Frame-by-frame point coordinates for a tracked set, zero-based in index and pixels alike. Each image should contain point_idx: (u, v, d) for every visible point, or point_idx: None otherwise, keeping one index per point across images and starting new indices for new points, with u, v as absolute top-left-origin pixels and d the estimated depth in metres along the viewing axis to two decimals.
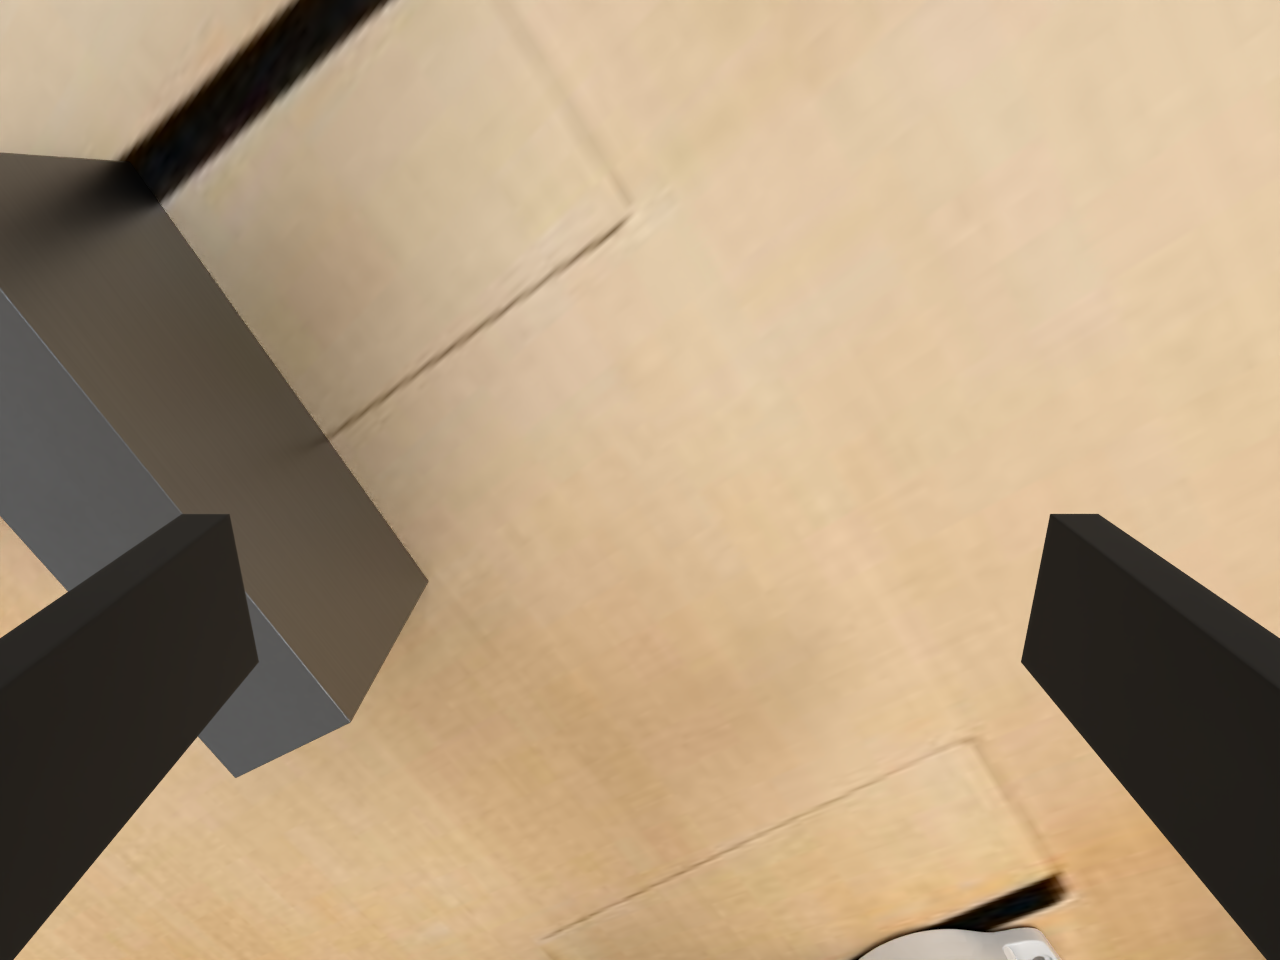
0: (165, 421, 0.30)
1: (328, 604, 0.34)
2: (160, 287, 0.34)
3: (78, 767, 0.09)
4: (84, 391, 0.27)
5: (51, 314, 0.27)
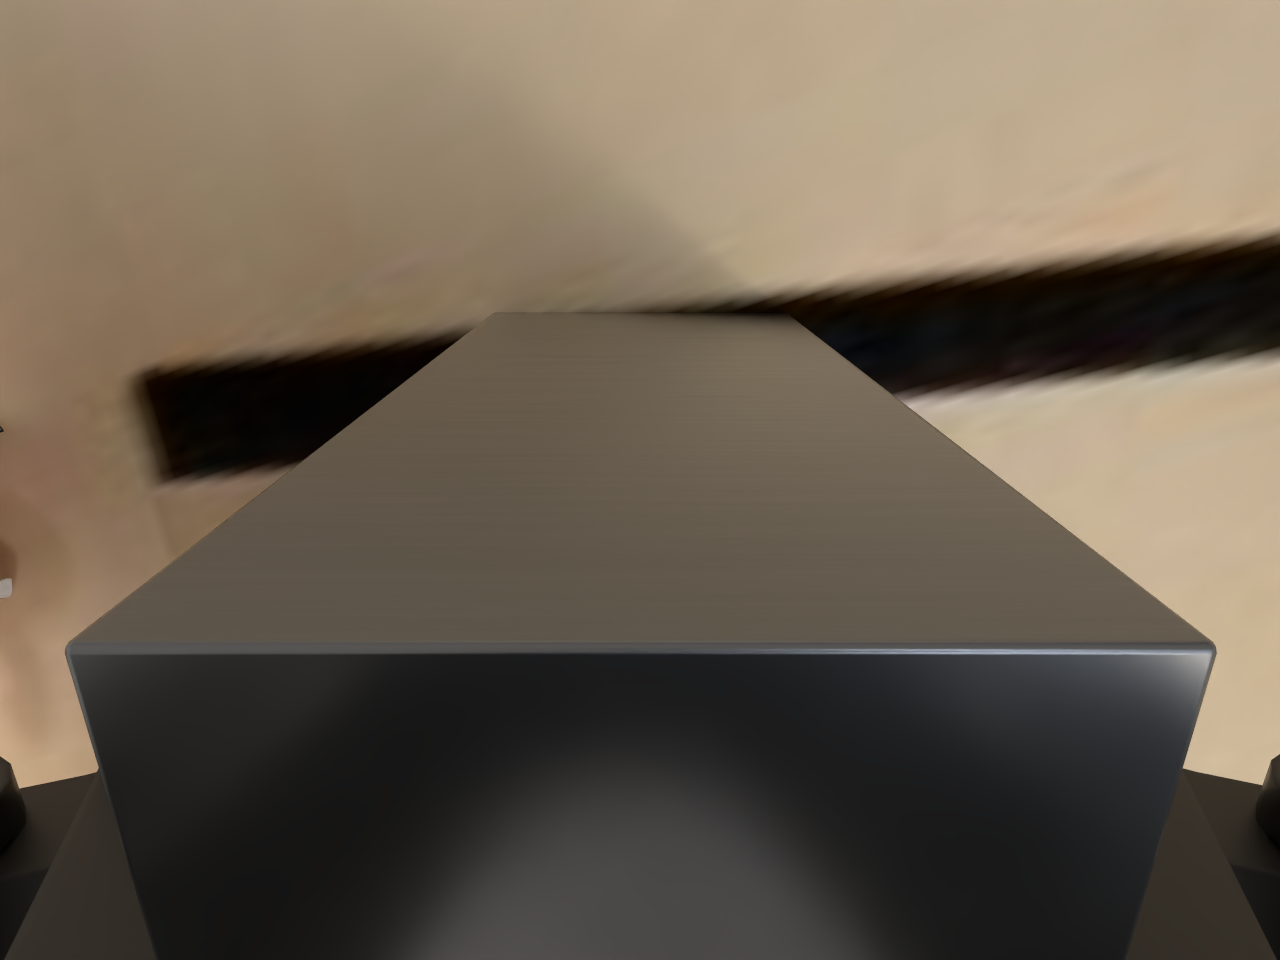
0: None
1: None
2: None
3: None
4: None
5: None
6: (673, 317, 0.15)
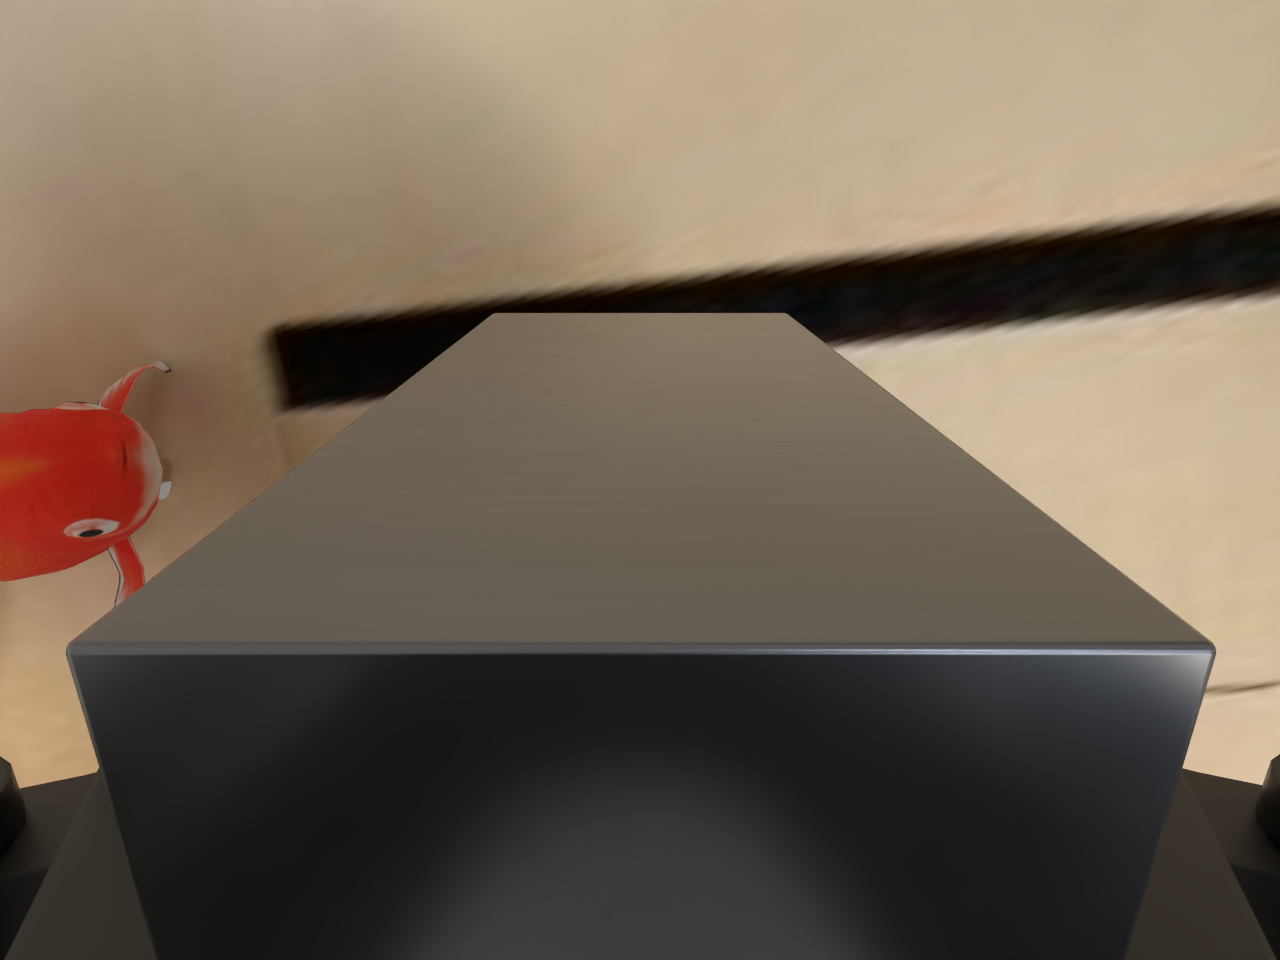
0: None
1: None
2: None
3: None
4: None
5: None
6: (673, 317, 0.15)
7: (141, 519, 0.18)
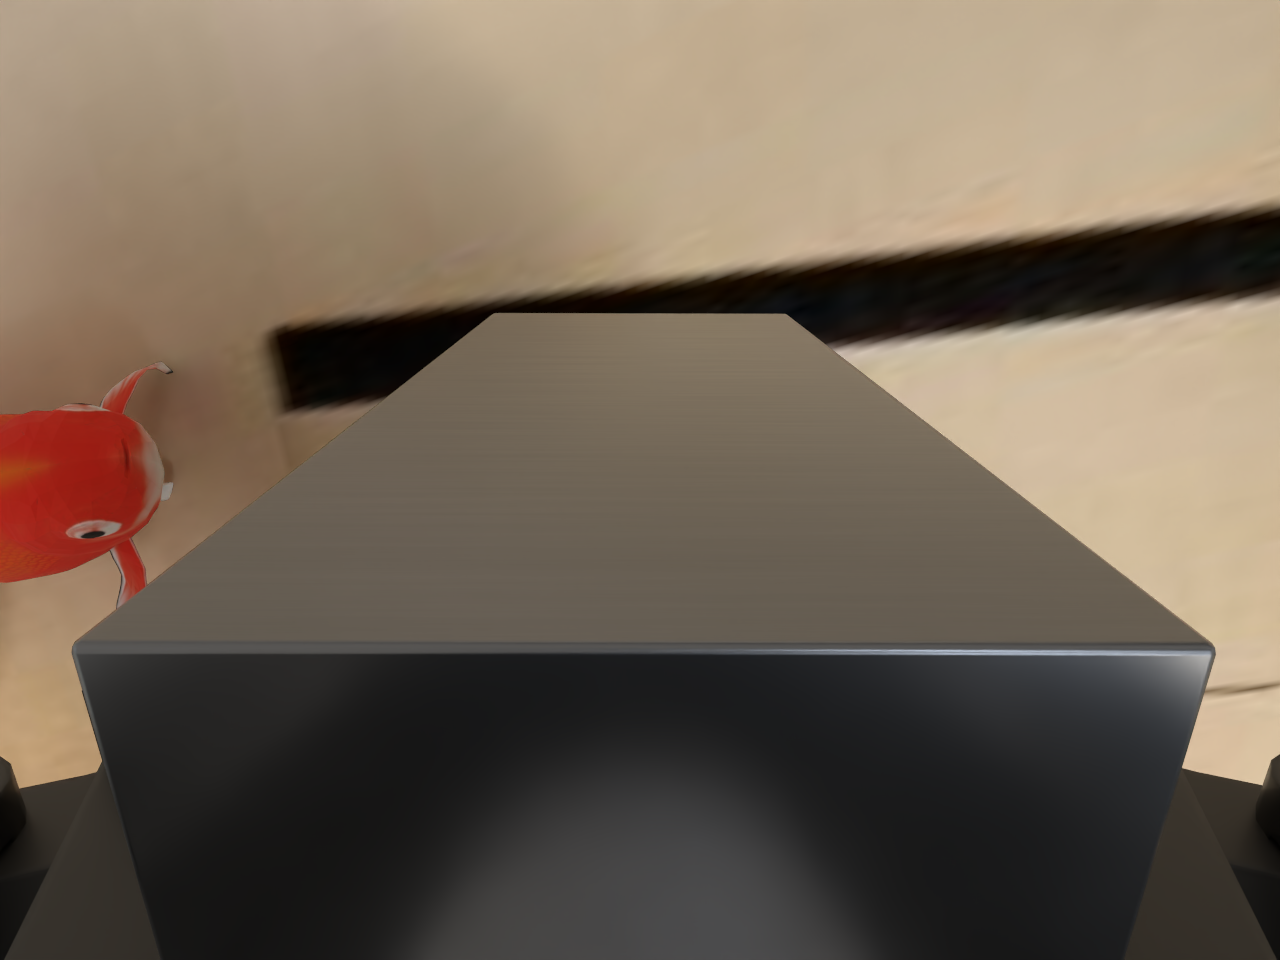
0: None
1: None
2: None
3: None
4: None
5: None
6: (673, 318, 0.15)
7: (143, 520, 0.18)
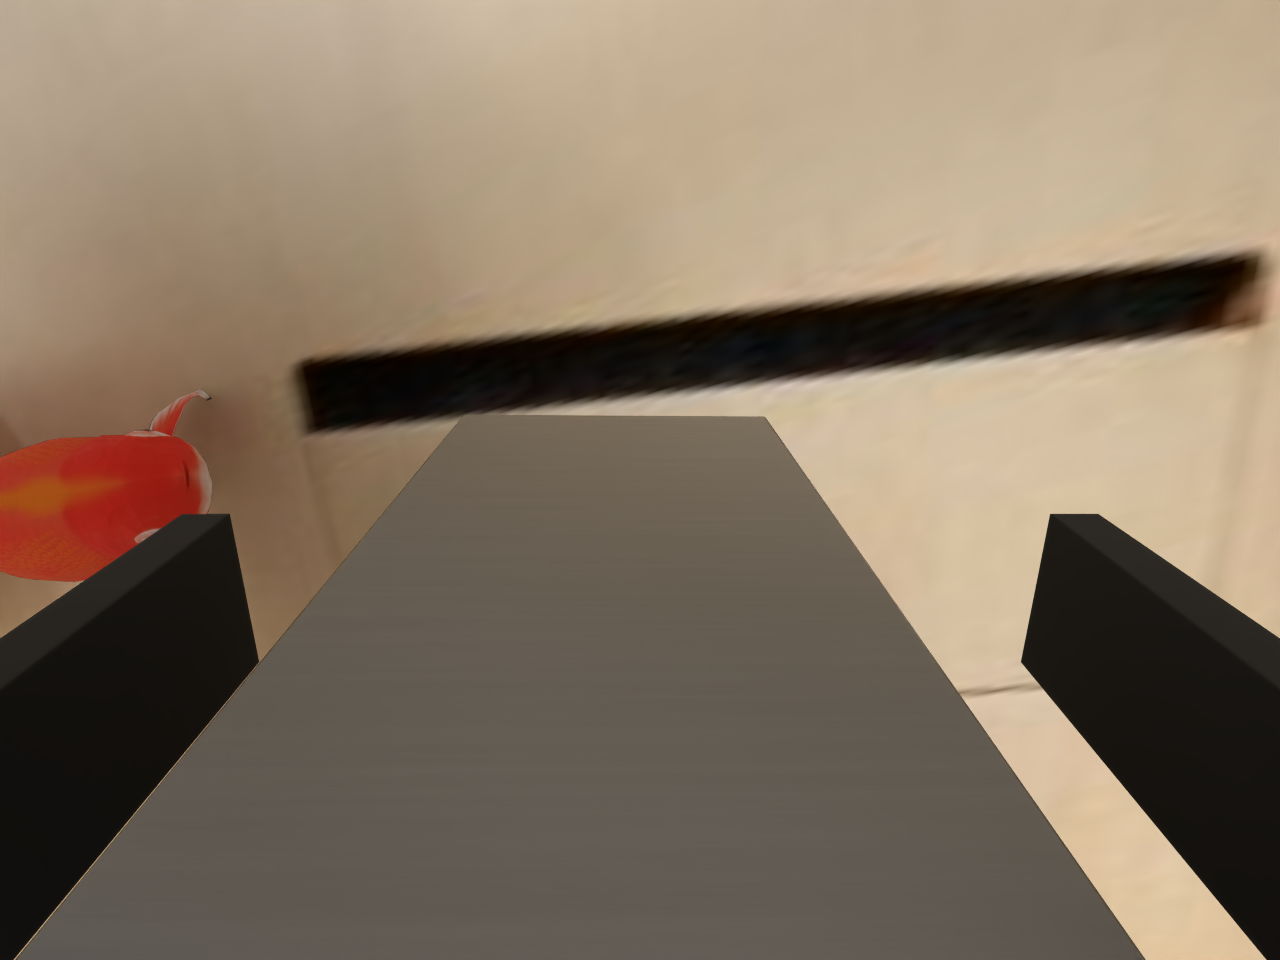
0: None
1: None
2: None
3: (77, 767, 0.09)
4: None
5: None
6: (648, 424, 0.15)
7: None
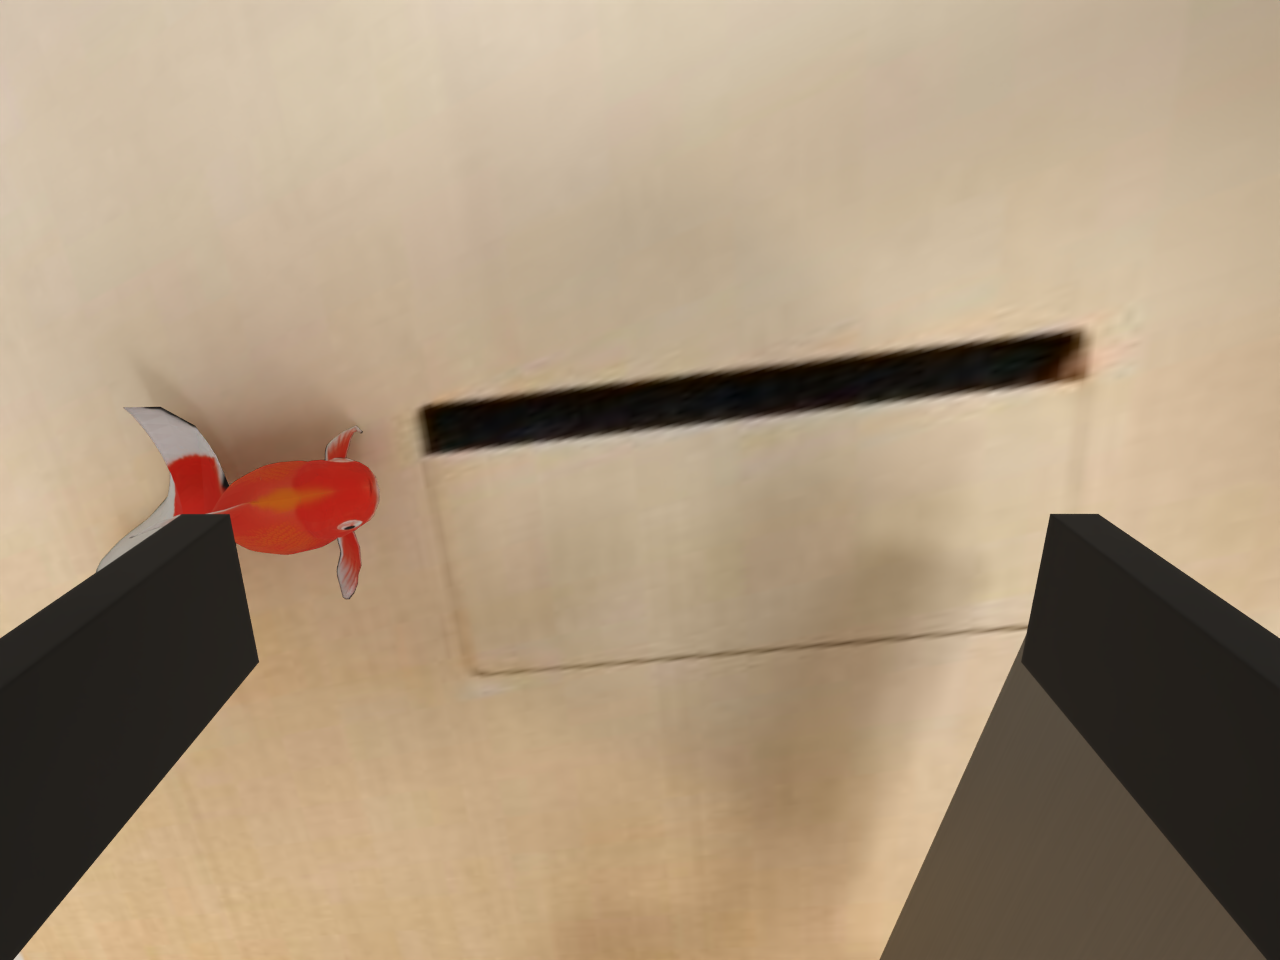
0: None
1: None
2: None
3: (77, 767, 0.09)
4: None
5: None
6: None
7: None
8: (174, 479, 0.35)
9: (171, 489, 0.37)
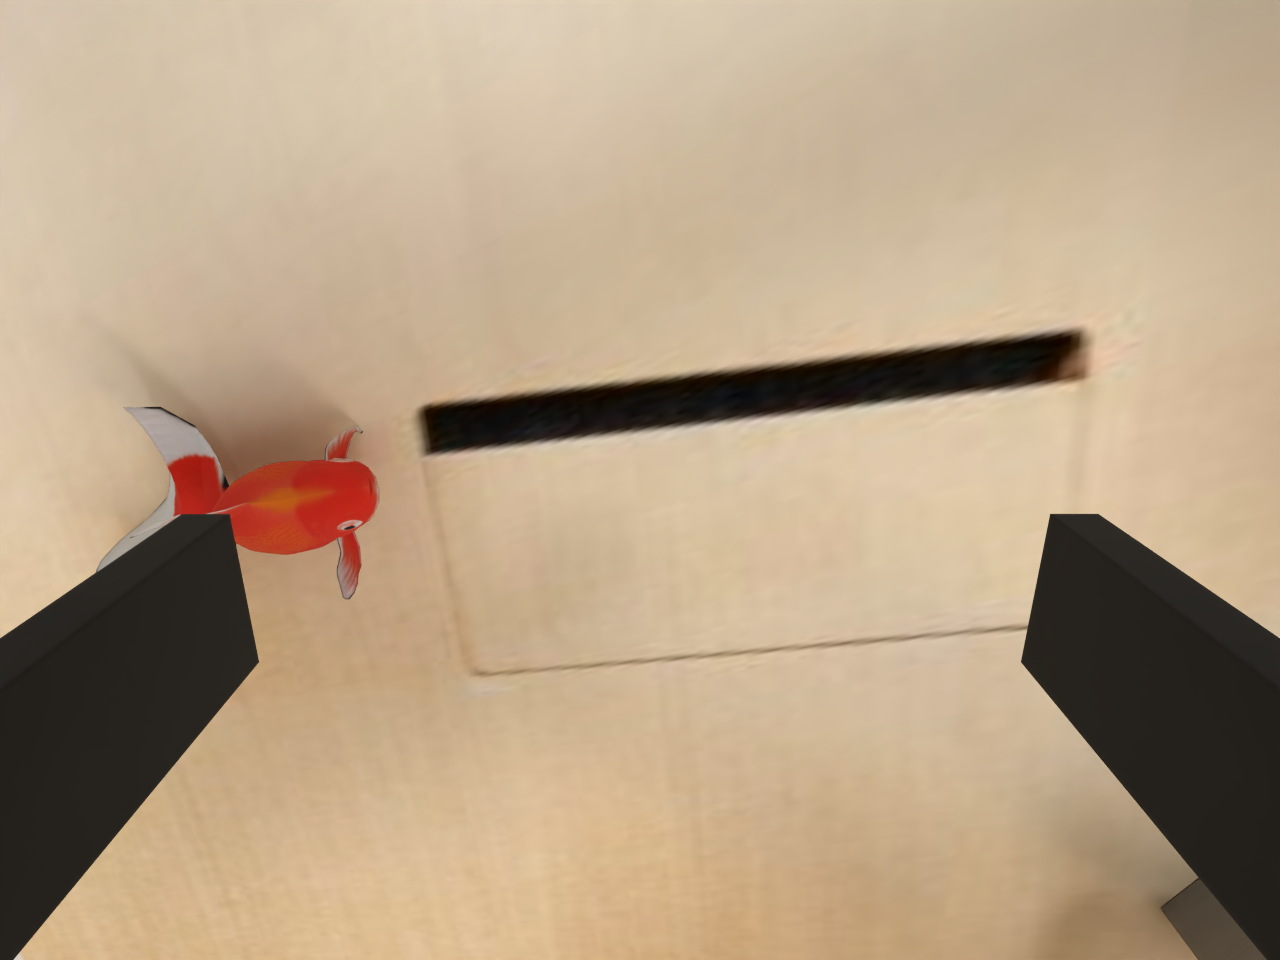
0: None
1: None
2: None
3: (77, 767, 0.09)
4: None
5: None
6: None
7: None
8: (174, 479, 0.35)
9: (171, 489, 0.37)
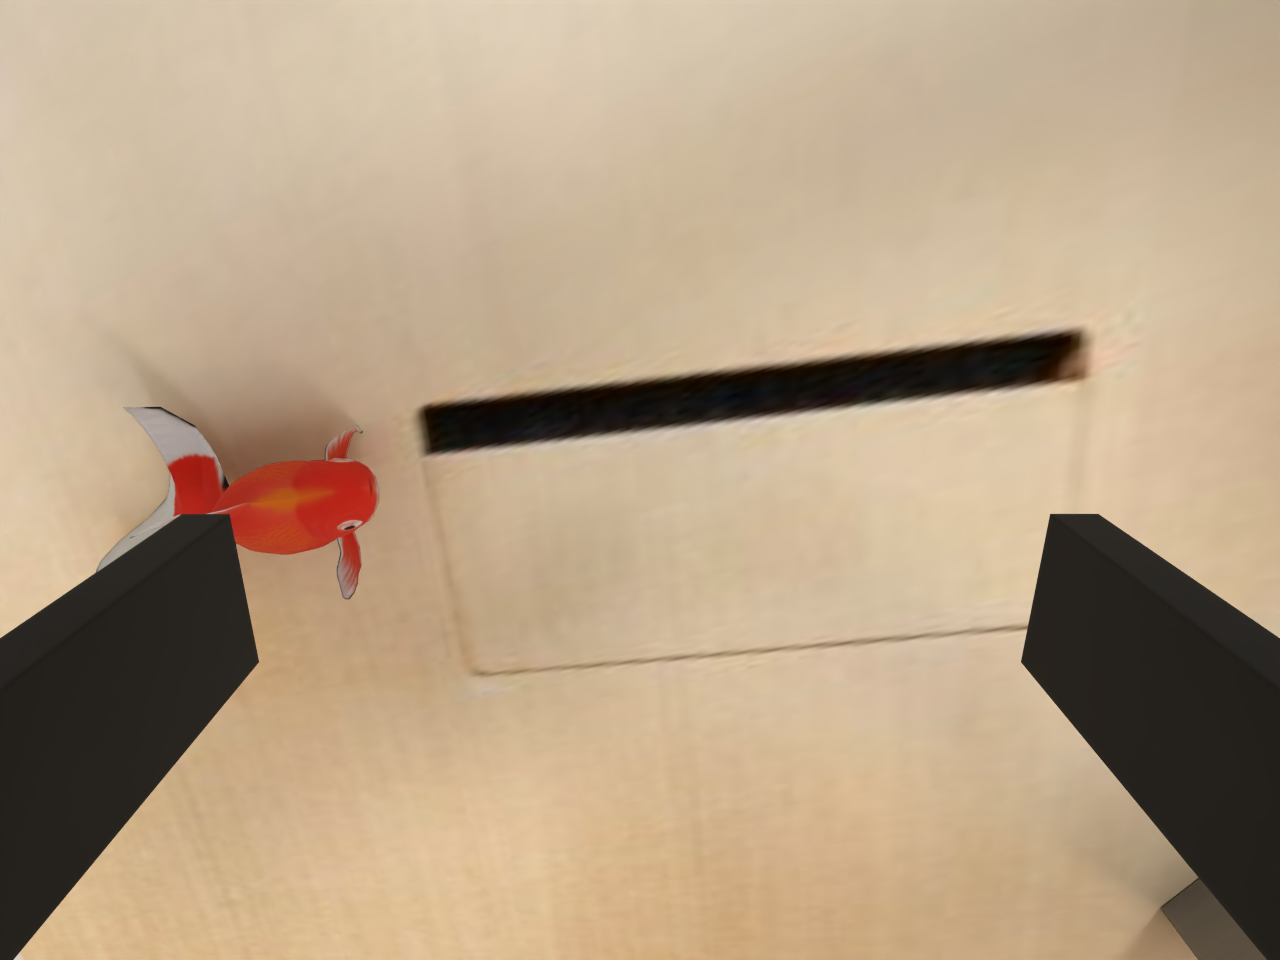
0: None
1: None
2: None
3: (77, 767, 0.09)
4: None
5: None
6: None
7: None
8: (174, 479, 0.35)
9: (171, 489, 0.37)
